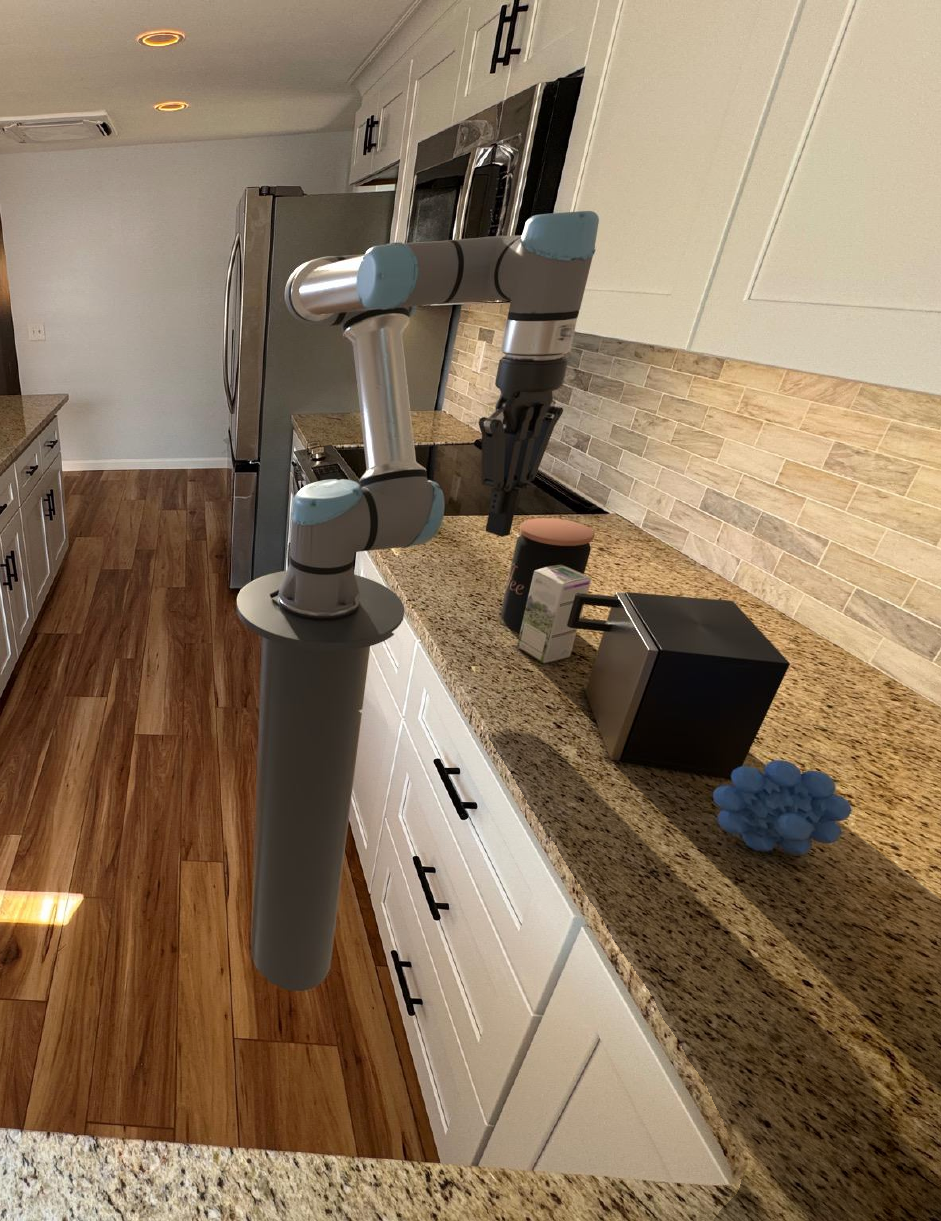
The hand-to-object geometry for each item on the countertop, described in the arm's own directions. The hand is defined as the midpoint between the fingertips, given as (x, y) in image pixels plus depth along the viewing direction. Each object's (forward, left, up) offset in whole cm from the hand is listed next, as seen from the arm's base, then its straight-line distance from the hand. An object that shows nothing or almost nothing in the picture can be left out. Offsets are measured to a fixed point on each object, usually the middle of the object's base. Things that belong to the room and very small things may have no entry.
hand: (497, 532), depth 94 cm
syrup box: (+12, +11, -25) cm, 30 cm away
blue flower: (+27, -29, -25) cm, 47 cm away
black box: (+23, -8, -24) cm, 34 cm away
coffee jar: (+12, +21, -25) cm, 34 cm away
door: (+14, -8, -24) cm, 29 cm away
